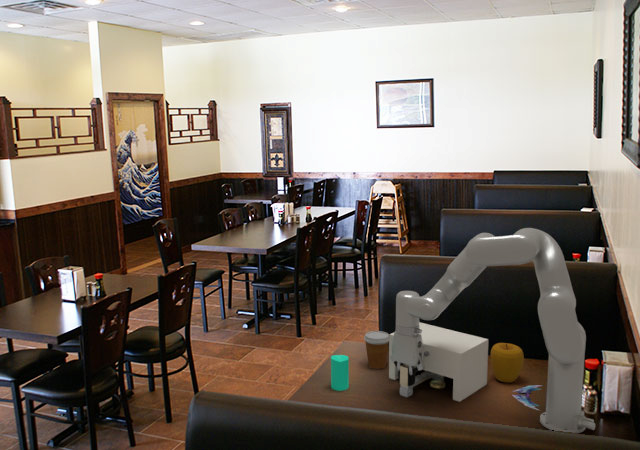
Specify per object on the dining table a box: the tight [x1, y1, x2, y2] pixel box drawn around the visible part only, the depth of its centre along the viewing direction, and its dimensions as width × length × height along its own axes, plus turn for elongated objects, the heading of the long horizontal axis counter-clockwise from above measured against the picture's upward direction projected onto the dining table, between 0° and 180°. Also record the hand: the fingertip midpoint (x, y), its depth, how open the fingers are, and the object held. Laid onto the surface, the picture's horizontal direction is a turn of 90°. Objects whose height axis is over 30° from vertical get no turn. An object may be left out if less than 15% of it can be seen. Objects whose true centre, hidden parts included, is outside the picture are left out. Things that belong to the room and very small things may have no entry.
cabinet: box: [388, 321, 489, 403], centre depth 206 cm, size 28×19×16 cm
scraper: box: [399, 364, 445, 398], centre depth 202 cm, size 19×7×10 cm, turn 137°
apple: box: [490, 342, 525, 383], centre depth 207 cm, size 11×11×13 cm
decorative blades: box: [510, 384, 543, 411], centre depth 195 cm, size 20×1×10 cm
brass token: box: [429, 379, 446, 390], centre depth 204 cm, size 5×5×1 cm
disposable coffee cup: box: [363, 330, 389, 370], centre depth 220 cm, size 10×10×12 cm
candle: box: [330, 354, 350, 392], centre depth 202 cm, size 6×6×12 cm
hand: (406, 382), depth 196 cm, fingers closed on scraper, 3 cm apart
